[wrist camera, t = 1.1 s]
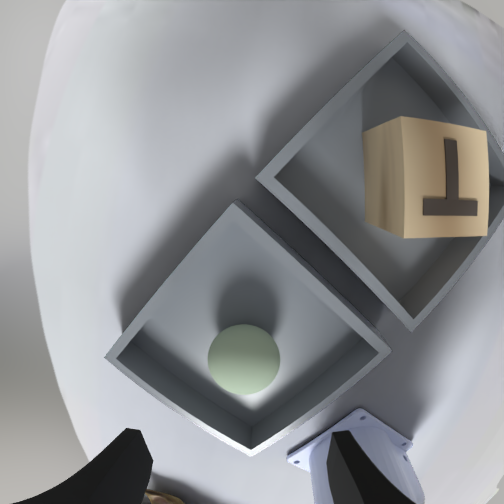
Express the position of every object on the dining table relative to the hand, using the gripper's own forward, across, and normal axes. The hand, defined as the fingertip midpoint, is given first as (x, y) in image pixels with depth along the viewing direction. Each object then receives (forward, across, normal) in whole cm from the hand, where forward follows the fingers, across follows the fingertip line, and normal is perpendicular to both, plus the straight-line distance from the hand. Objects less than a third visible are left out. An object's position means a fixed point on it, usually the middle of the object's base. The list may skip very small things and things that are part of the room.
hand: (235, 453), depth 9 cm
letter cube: (+9, -10, -10) cm, 16 cm away
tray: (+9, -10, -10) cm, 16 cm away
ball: (+9, 0, 0) cm, 9 cm away
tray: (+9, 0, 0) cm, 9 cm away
